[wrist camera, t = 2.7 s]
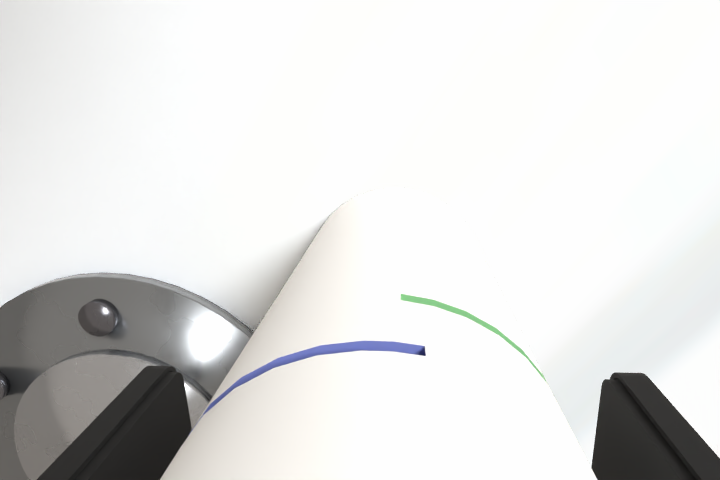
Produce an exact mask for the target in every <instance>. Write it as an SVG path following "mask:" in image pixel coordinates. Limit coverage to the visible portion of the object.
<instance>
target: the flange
mask: <svg viewBox="0 0 720 480" xmlns="http://www.w3.org/2000/svg"><path fill="white" fill-rule="evenodd" d="M252 335H253V332H252V331H251V330H250V329H249V328H248V327H247V326H246V325H244V324H243V323H242V322H240V321H239V320H238V319H236V318H235V317H234V316H232V315H231V314H230V313H228V312H227V311H225V310H224V309H222V308H220V307H219V306H217V305H215V304H213V303H212V302H210V301H208V300H207V299H205V298H203V297H201V296H199V295H196V294H194V293H192V292H190V291H187V290H185V289H183V288H181V287H178V286H175V285H172V284H169V283H165V282H162V281H159V280H156V279H152V278H146V277H141V276H136V275H130V274H118V273H91V274H78V275H73V276H69V277H64V278H59V279H55V280H52V281H50V282H47V283H44V284H42V285H39V286H36V287H34V288H32V289H30V290H28V291H26V292H24V293H23V294H21V295H19V296H17V297H16V298H14V299H12V300H10V301H8V302H7V303H5V304H4V305H3V306H2V307H0V480H37V479H38V478H39V476H40V475H41V474H42V473H43V472H44V471H45V470H46V469H47V468H48V467H49V466H50V465H51V464H52V463H53V462H54V461H55V460H56V459H57V458H58V457H59V456H60V455H61V454H62V453H63V452H64V451H65V450H66V448H67V447H68V446H69V445H70V444H71V443H72V442H73V441H74V440H75V439H76V438H77V437H78V436H79V435H80V434H81V433H82V432H83V431H84V430H85V429H86V428H87V427H88V426H89V425H90V424H91V423H92V422H93V421H94V419H95V418H96V417H97V416H98V415H99V414H100V413H101V412H102V411H103V410H104V409H105V408H106V407H107V406H108V405H109V404H110V403H111V402H112V401H113V400H114V399H115V398H116V397H117V396H118V395H119V394H120V393H121V392H122V390H123V389H124V388H125V387H126V386H127V385H128V384H129V383H130V382H131V381H132V380H133V379H134V378H135V377H136V376H137V375H138V374H139V373H140V372H141V371H142V370H143V369H144V368H145V367H146V366H173V367H174V368H175V369H176V371H177V372H180V373H181V374H182V375H183V379H184V384H185V390H186V396H187V403H188V409H189V415H190V421H191V427H192V429H193V427H194V426H195V424H196V422H197V421H198V419H199V418H200V416H201V415H202V413H203V411H204V410H205V408H206V407H207V405H208V404H209V402H210V401H211V399H212V397H213V396H214V394H215V393H216V391H217V390H218V388H219V387H220V385H221V383H222V382H223V380H224V379H225V377H226V376H227V374H228V372H229V371H230V369H231V368H232V366H233V365H234V363H235V362H236V360H237V358H238V357H239V355H240V354H241V352H242V351H243V349H244V347H245V346H246V344H247V343H248V341H249V340H250V338H251V337H252Z"/></svg>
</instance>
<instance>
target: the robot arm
mask: <svg viewBox="0 0 720 480" xmlns="http://www.w3.org/2000/svg"><path fill="white" fill-rule="evenodd" d="M191 430H192V427H191V421H190V415H189V409H188V403H187V396H186V390H185V384H184V379H183V375H182V374H181V373H180V372H177V371H176V369H175V368H174V367H173V366H146V367H145V368H144V369H143V370H142V371H141V372H140V373H139V374H138V375H137V376H136V377H135V378H134V379H133V380H132V381H131V382H130V383H129V384H128V385H127V386H126V387H125V388H124V389H123V390H122V392H121V393H120V394H119V395H118V396H117V397H116V398H115V399H114V400H113V401H112V402H111V403H110V404H109V405H108V406H107V407H106V408H105V409H104V410H103V411H102V412H101V413H100V414H99V415H98V416H97V417H96V418H95V419H94V421H93V422H92V423H91V424H90V425H89V426H88V427H87V428H86V429H85V430H84V431H83V432H82V433H81V434H80V435H79V436H78V437H77V438H76V439H75V440H74V441H73V442H72V443H71V444H70V445H69V446H68V447H67V448H66V450H65V451H64V452H63V453H62V454H61V455H60V456H59V457H58V458H57V459H56V460H55V461H54V462H53V463H52V464H51V465H50V466H49V467H48V468H47V469H46V470H45V471H44V472H43V473H42V474H41V475H40V476H39V478H38V479H37V480H160V479H161V477H162V476H163V474H164V472H165V471H166V469H167V468H168V466H169V465H170V463H171V461H172V460H173V458H174V457H175V455H176V454H177V452H178V451H179V449H180V447H181V446H182V445H183V443H184V442H185V440H186V439H187V437H188V435H189V433H190V432H191ZM592 470H593V472H594V474H595V476H596V478H597V480H720V458H719V457H718V456H717V455H716V454H715V453H714V451H713V450H712V449H711V448H710V447H709V446H708V445H707V444H706V442H705V441H704V440H703V439H702V438H701V437H700V436H699V434H698V433H697V432H696V431H695V430H694V429H693V428H692V427H691V425H690V424H689V423H688V422H687V421H686V420H685V419H684V417H683V416H682V415H681V414H680V413H679V412H678V411H677V410H676V408H675V407H674V406H673V405H672V404H671V403H670V402H669V400H668V399H667V398H666V397H665V396H664V395H663V394H662V392H661V391H660V390H659V389H658V388H657V387H656V386H655V385H654V383H653V382H652V381H651V380H650V379H649V378H648V377H647V376H646V375H645V374H643V373H613V374H612V376H611V377H610V380H606V379H605V380H604V381H603V383H602V388H601V396H600V404H599V412H598V420H597V428H596V436H595V444H594V452H593V460H592Z"/></svg>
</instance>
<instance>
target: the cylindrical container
mask: <svg viewBox="0 0 720 480" xmlns="http://www.w3.org/2000/svg"><path fill="white" fill-rule="evenodd" d="M160 480H597V478H596V476H595V474H594V472H593V470H592V468H591V466H590V464H589V462H588V460H587V459H586V457H585V455H584V453H583V451H582V449H581V447H580V445H579V443H578V441H577V439H576V438H575V436H574V434H573V432H572V430H571V428H570V426H569V424H568V422H567V420H566V418H565V417H564V415H563V413H562V411H561V409H560V407H559V405H558V403H557V401H556V399H555V397H554V395H553V393H552V391H551V389H550V387H549V385H548V384H547V382H546V380H545V378H544V376H543V374H542V372H541V370H540V368H539V366H538V364H537V362H536V360H535V358H534V356H533V354H532V352H531V350H530V348H529V346H528V344H527V342H526V340H525V338H524V336H523V334H522V332H521V330H520V328H519V326H518V324H517V322H516V320H515V318H514V316H513V314H512V312H511V310H510V308H509V306H508V304H507V302H506V301H505V299H504V297H503V295H502V293H501V291H500V289H499V287H498V285H497V283H496V281H495V279H494V277H493V275H492V273H491V271H490V269H489V267H488V265H487V263H486V261H485V259H484V257H483V255H482V253H481V251H480V249H479V247H478V245H477V243H476V241H475V239H474V237H473V236H472V234H471V232H470V230H469V229H468V227H467V225H466V223H465V222H464V221H463V220H462V219H461V218H460V217H459V215H458V214H457V213H456V212H455V211H454V210H453V209H452V208H450V207H449V206H447V205H446V204H445V203H443V202H442V201H440V200H439V199H437V198H435V197H433V196H430V195H428V194H426V193H423V192H420V191H416V190H411V189H407V188H383V189H376V190H371V191H369V192H366V193H363V194H360V195H357V196H355V197H354V198H352V199H350V200H349V201H347V202H345V203H344V204H342V205H341V206H340V207H339V208H338V209H336V210H335V211H334V212H333V213H332V214H331V215H330V216H329V217H328V219H327V220H326V221H325V223H324V224H323V226H322V227H321V229H320V230H319V232H318V233H317V235H316V236H315V238H314V240H313V241H312V243H311V244H310V246H309V247H308V249H307V251H306V252H305V254H304V255H303V257H302V258H301V260H300V262H299V263H298V265H297V266H296V268H295V269H294V271H293V273H292V274H291V276H290V277H289V279H288V280H287V282H286V283H285V285H284V287H283V288H282V290H281V291H280V293H279V294H278V296H277V298H276V299H275V301H274V302H273V304H272V305H271V307H270V308H269V310H268V312H267V313H266V315H265V316H264V318H263V319H262V321H261V322H260V324H259V326H258V327H257V329H256V330H255V332H254V333H253V335H252V337H251V338H250V340H249V341H248V343H247V344H246V346H245V347H244V349H243V351H242V352H241V354H240V355H239V357H238V358H237V360H236V362H235V363H234V365H233V366H232V368H231V369H230V371H229V372H228V374H227V376H226V377H225V379H224V380H223V382H222V383H221V385H220V387H219V388H218V390H217V391H216V393H215V394H214V396H213V397H212V399H211V401H210V402H209V404H208V405H207V407H206V408H205V410H204V411H203V413H202V415H201V416H200V418H199V419H198V421H197V422H196V424H195V426H194V427H193V429H192V430H191V432H190V433H189V435H188V437H187V439H186V440H185V442H184V443H183V445H182V446H181V447H180V449H179V451H178V452H177V454H176V455H175V457H174V458H173V460H172V461H171V463H170V465H169V466H168V468H167V469H166V471H165V472H164V474H163V476H162V477H161V479H160Z"/></svg>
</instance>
